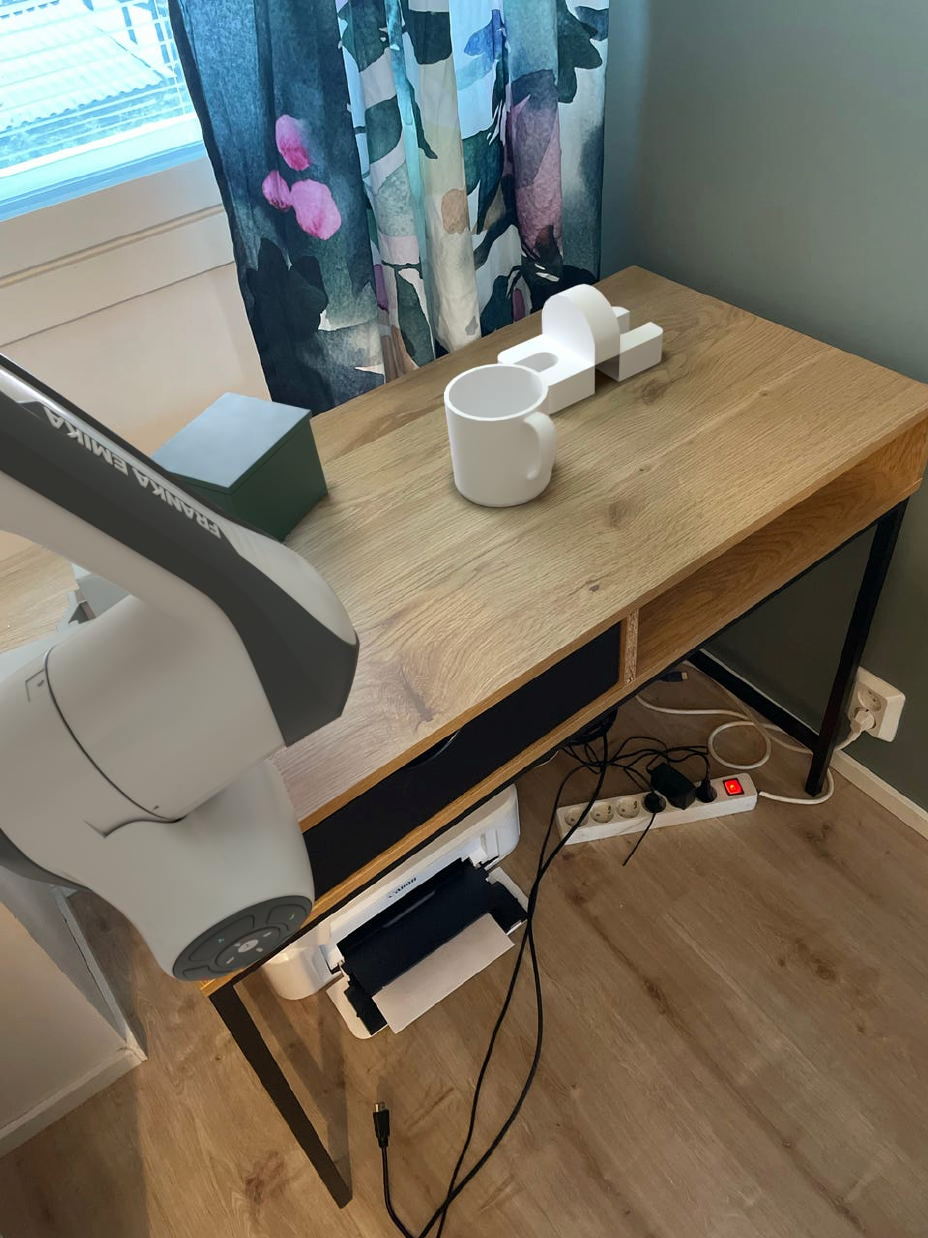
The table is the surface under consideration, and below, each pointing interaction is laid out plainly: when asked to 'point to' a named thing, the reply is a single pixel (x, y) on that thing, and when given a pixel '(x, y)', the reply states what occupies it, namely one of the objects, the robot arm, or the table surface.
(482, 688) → the table surface
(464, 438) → the mug
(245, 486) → the chest
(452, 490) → the table surface
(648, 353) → the slotted bracket
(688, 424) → the table surface
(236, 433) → the lid
